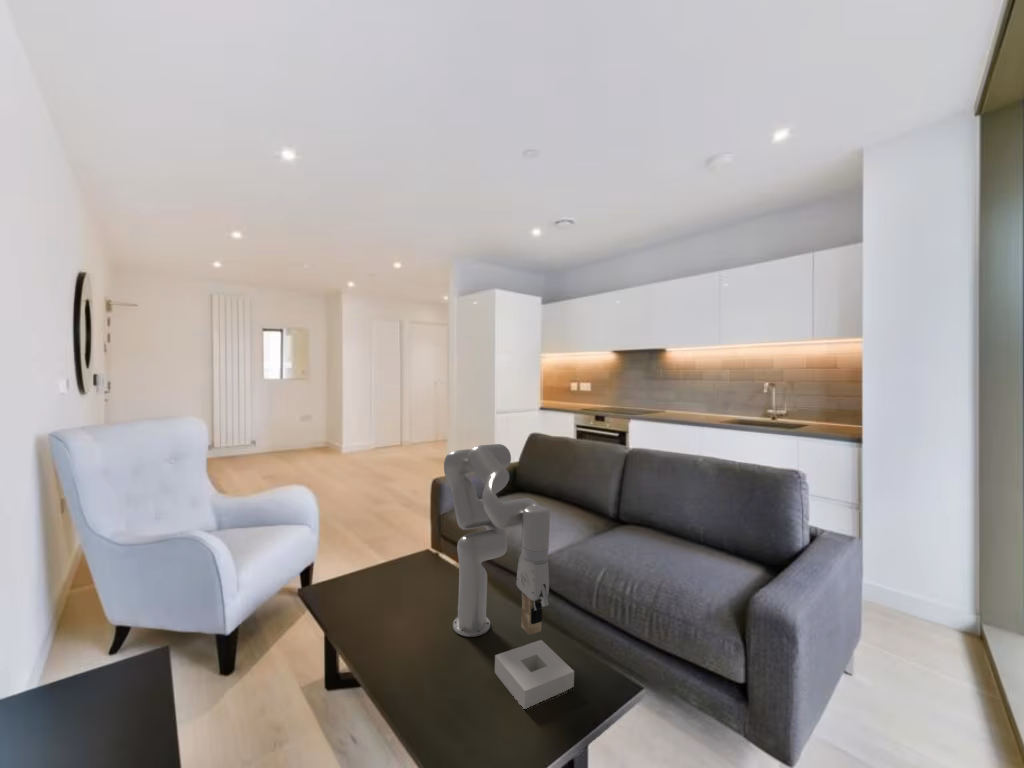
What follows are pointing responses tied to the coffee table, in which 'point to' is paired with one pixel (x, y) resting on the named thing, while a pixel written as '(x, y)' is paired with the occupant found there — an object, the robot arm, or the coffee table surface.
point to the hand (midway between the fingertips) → (531, 617)
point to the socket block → (533, 673)
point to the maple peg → (528, 616)
